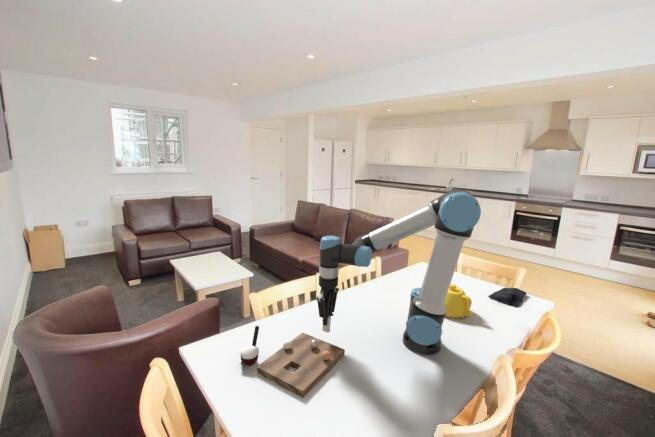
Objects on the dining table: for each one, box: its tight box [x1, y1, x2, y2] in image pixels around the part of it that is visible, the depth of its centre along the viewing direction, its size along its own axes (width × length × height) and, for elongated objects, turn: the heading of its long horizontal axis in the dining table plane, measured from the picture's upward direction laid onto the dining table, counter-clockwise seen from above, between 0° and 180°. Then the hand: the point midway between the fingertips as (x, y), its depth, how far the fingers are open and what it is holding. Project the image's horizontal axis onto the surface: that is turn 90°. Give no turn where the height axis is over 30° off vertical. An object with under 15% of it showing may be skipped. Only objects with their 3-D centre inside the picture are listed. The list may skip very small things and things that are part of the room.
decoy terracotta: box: [322, 351, 331, 360], centre depth 112 cm, size 3×3×3 cm
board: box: [256, 332, 346, 399], centre depth 113 cm, size 20×26×2 cm
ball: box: [310, 340, 318, 349], centre depth 118 cm, size 3×3×3 cm
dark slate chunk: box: [488, 287, 527, 308], centre depth 173 cm, size 15×22×5 cm
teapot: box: [444, 283, 473, 319], centre depth 156 cm, size 25×18×14 cm
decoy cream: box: [282, 339, 292, 349], centre depth 118 cm, size 3×3×3 cm
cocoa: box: [239, 325, 260, 367], centre depth 112 cm, size 10×6×12 cm, turn 133°
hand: (326, 330), depth 126 cm, fingers closed
